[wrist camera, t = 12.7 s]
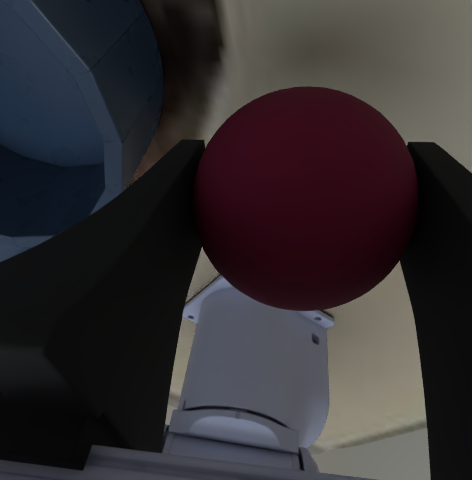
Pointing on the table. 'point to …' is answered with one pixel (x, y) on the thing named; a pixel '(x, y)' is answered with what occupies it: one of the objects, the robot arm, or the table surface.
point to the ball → (305, 198)
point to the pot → (72, 110)
